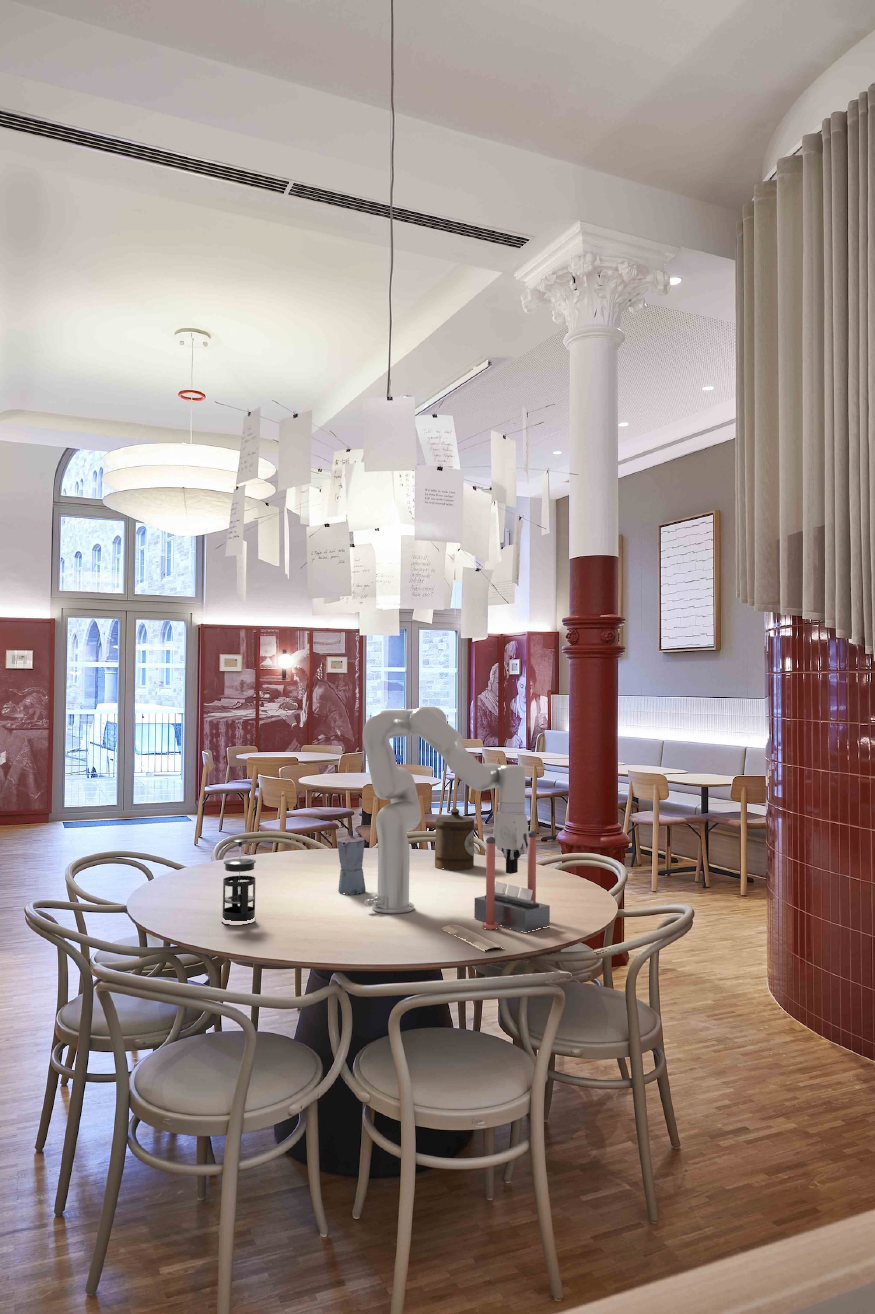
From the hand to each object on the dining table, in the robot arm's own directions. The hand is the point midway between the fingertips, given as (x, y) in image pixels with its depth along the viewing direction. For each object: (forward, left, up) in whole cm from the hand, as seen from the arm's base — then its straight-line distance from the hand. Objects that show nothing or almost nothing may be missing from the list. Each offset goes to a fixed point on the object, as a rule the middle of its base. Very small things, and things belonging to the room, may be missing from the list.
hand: (511, 872), depth 244 cm
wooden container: (+43, +71, -14) cm, 84 cm away
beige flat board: (-21, -5, -15) cm, 26 cm away
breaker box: (0, 0, -14) cm, 14 cm away
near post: (-9, 0, -14) cm, 17 cm away
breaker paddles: (0, 0, -7) cm, 7 cm away
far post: (+8, 0, -14) cm, 17 cm away
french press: (-59, +50, -14) cm, 79 cm away
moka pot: (-12, +61, -14) cm, 64 cm away
